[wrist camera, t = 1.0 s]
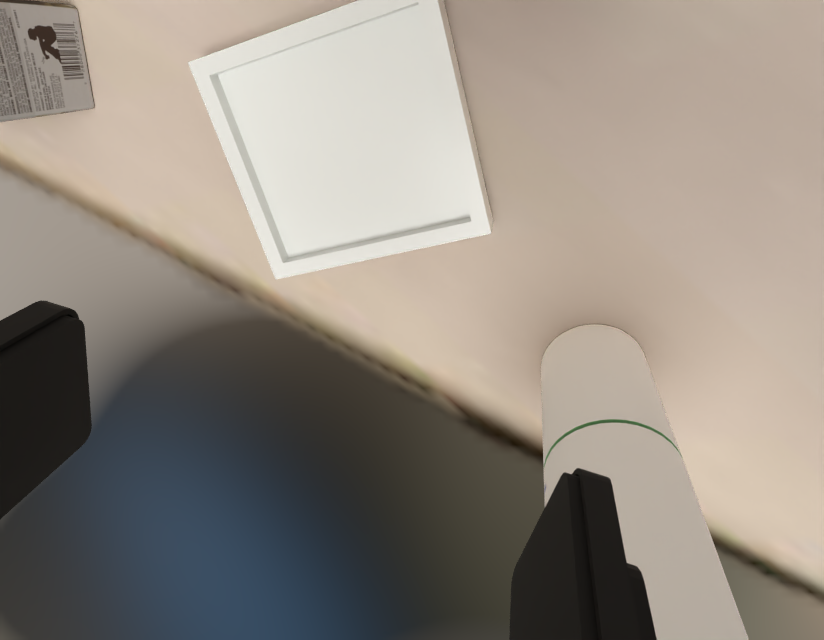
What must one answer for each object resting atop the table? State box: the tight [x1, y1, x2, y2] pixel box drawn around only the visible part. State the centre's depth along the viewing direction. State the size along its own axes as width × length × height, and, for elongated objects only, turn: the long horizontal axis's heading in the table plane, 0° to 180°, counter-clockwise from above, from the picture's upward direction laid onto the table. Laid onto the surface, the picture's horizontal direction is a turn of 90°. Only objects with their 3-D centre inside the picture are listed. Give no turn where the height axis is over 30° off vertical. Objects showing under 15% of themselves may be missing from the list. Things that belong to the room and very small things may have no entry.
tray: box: [188, 0, 493, 279], centre depth 34 cm, size 15×14×2 cm
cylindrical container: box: [541, 324, 749, 640], centre depth 28 cm, size 7×7×25 cm
